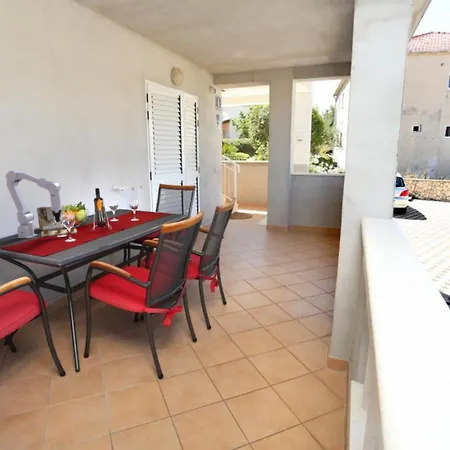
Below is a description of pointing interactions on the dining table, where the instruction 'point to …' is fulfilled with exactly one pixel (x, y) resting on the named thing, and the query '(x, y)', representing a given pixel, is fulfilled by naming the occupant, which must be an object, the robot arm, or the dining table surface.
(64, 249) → the dining table surface
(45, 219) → the coffee box
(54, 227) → the glasses frame
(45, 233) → the display stand
